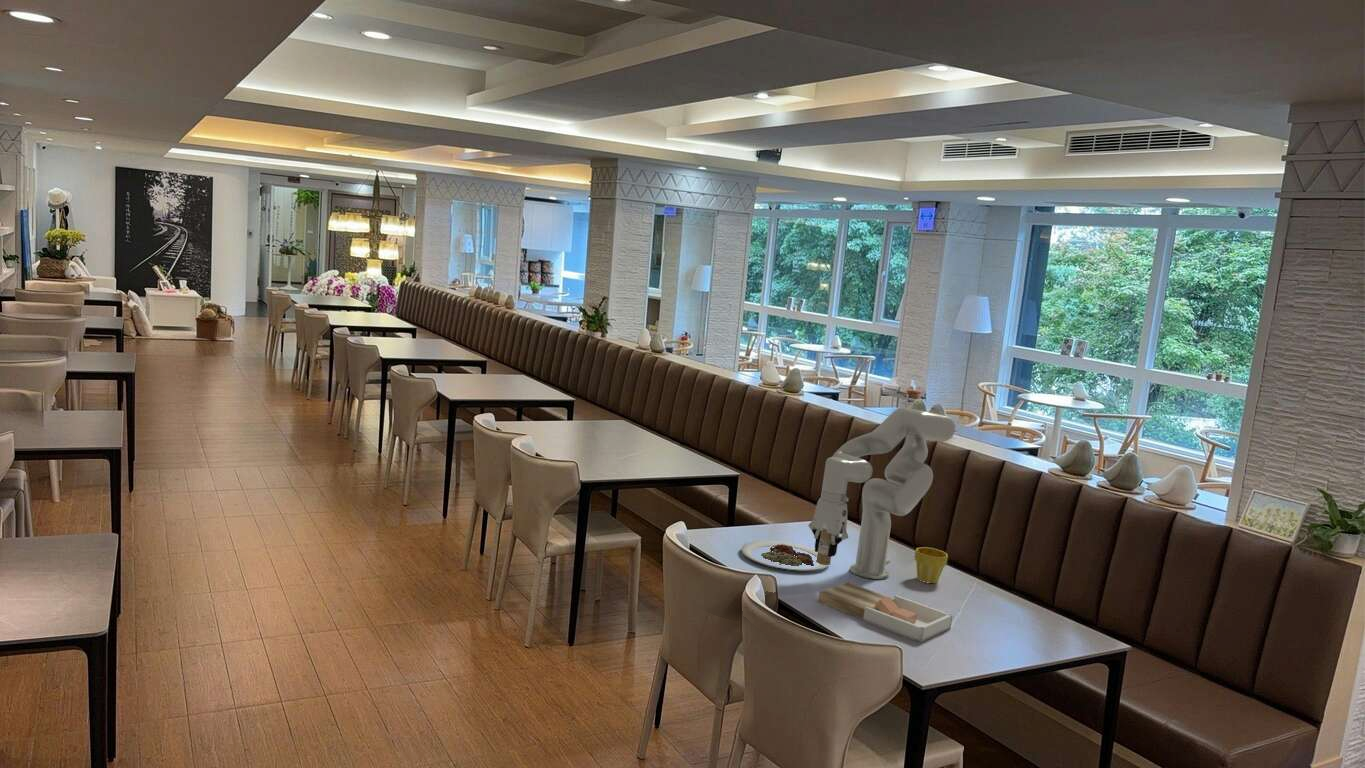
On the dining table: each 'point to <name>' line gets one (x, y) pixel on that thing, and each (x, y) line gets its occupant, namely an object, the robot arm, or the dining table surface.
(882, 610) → the rear tile
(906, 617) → the front tile
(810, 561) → the plated food
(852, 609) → the grooved oak block
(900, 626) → the box
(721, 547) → the dining table surface
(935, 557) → the plant pot
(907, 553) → the dining table surface
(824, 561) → the sprinkles bottle
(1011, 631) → the dining table surface
